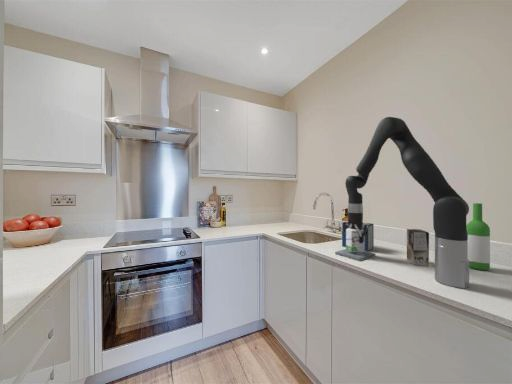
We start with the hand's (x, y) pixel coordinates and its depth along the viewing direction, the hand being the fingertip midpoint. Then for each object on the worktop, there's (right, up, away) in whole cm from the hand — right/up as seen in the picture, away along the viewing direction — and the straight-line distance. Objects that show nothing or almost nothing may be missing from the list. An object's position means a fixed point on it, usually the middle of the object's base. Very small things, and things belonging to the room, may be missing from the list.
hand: (355, 241), depth 114 cm
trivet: (0, -7, 0) cm, 7 cm away
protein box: (+9, -8, +15) cm, 20 cm away
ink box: (0, -5, 0) cm, 5 cm away
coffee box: (+25, -8, -12) cm, 29 cm away
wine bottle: (+47, -8, -19) cm, 52 cm away
